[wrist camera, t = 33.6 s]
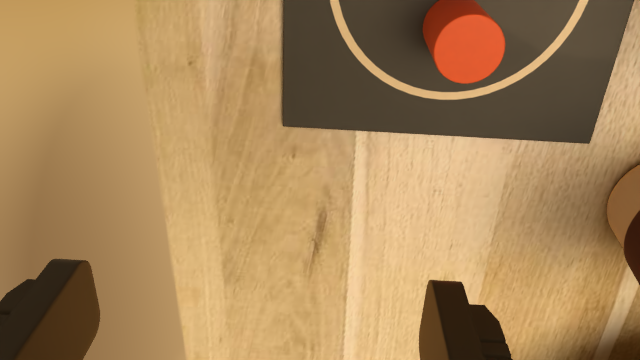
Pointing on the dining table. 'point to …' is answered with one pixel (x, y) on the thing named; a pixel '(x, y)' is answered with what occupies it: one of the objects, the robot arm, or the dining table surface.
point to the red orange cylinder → (463, 40)
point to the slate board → (436, 90)
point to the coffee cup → (627, 217)
